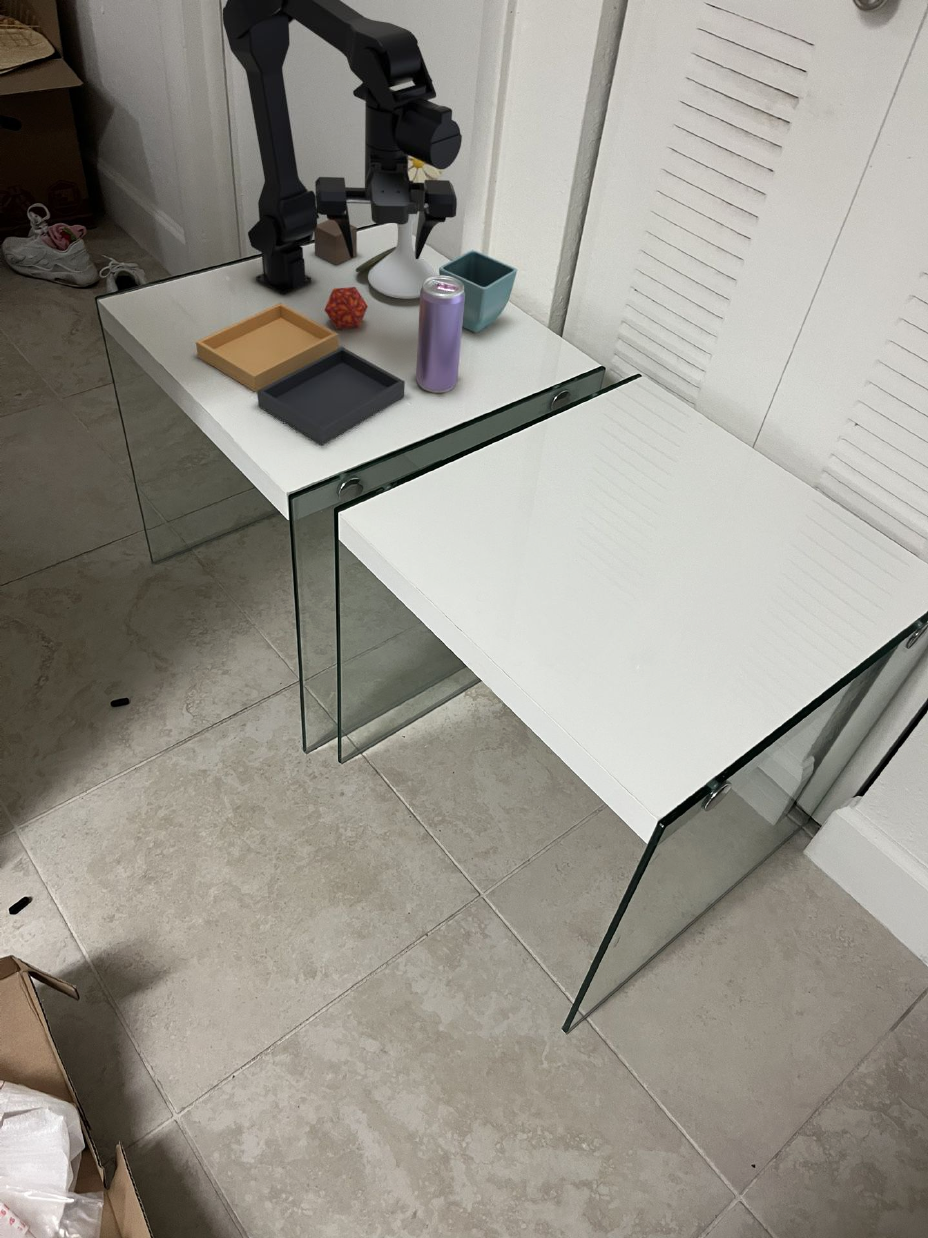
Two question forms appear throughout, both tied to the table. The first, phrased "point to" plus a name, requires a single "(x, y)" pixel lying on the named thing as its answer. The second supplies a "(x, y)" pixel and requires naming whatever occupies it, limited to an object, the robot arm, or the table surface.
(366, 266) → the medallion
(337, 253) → the walnut block
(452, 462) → the table surface
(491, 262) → the flower pot
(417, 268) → the flower in vase
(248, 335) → the wood tray
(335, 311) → the decorative stone
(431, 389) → the beverage can
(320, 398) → the stone tray
